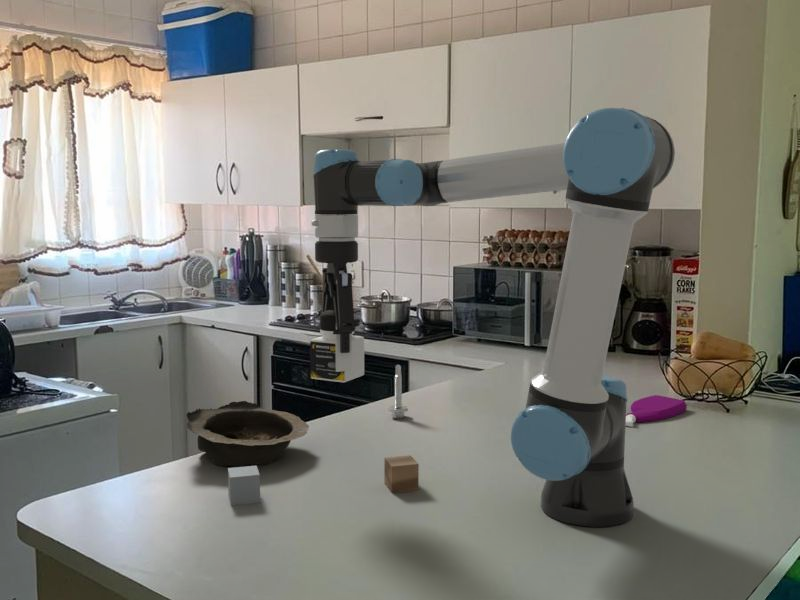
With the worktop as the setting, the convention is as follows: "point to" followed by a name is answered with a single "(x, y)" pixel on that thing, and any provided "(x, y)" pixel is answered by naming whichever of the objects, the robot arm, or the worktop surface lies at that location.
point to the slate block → (243, 485)
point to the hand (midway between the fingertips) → (337, 364)
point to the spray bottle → (654, 409)
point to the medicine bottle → (333, 353)
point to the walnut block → (401, 474)
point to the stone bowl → (244, 433)
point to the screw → (398, 396)
